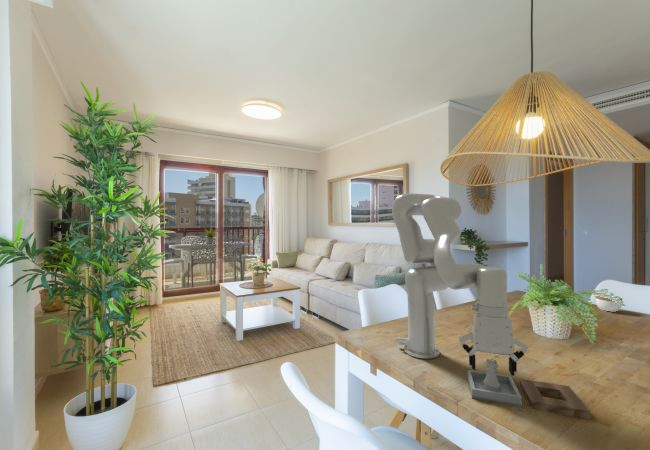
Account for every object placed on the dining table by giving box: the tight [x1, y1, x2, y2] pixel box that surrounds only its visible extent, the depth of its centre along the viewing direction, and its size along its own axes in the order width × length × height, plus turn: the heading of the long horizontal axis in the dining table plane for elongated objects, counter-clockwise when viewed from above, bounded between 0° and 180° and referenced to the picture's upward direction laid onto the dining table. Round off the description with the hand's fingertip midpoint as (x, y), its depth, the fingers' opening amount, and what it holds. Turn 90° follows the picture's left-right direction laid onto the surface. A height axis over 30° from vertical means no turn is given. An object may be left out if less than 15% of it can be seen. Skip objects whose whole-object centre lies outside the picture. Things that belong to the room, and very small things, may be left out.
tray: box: [467, 369, 523, 408], centre depth 85 cm, size 12×12×2 cm
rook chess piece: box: [483, 358, 501, 392], centre depth 85 cm, size 4×4×8 cm
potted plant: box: [594, 296, 623, 313], centre depth 162 cm, size 11×11×9 cm
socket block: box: [518, 378, 591, 420], centre depth 80 cm, size 12×12×2 cm
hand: (492, 370), depth 85 cm, fingers open, 9 cm apart
